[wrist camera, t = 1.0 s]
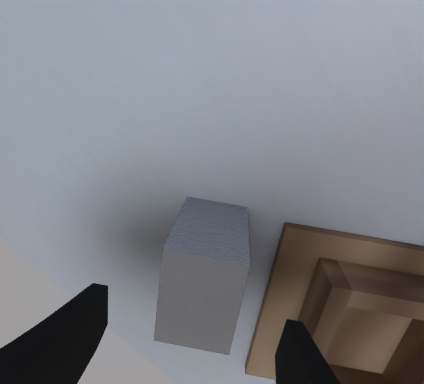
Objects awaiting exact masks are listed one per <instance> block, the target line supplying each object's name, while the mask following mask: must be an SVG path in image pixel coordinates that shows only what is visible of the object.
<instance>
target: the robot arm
mask: <svg viewBox="0 0 424 384" xmlns="http://www.w3.org/2000/svg"><path fill="white" fill-rule="evenodd" d="M107 324H108V286H106V285H100V284H95V283H93V284H91V285H90V286H88V287H87V288H86V289H84V290H83V291H82V292H81V293H79V294H78V295H77V296H75V297H74V298H73V299H71V300H70V301H69V302H68V303H66V304H65V305H64V306H62V307H61V308H59V309H58V310H57V311H55V312H54V313H53V314H51V315H50V316H49V317H47V318H46V319H45V320H43V321H42V322H40V323H39V324H37V325H36V326H34V327H33V328H31V329H30V330H29V331H27V332H25V333H24V334H22V335H21V336H19V337H18V338H16V339H15V340H13V341H12V342H10V343H9V344H7V345H5V346H4V347H2V348H1V349H0V384H77V383H78V381H79V379H80V377H81V376H82V374H83V372H84V371H85V369H86V367H87V365H88V364H89V362H90V360H91V358H92V357H93V355H94V353H95V351H96V349H97V347H98V345H99V343H100V340H101V338H102V336H103V334H104V331H105V329H106V327H107ZM275 373H276V384H341V383H340V382H339V380H338V379H337V377H336V375H335V374H334V372H333V371H332V369H331V368H330V366H329V365H328V363H327V362H326V360H325V358H324V357H323V355H322V353H321V352H320V350H319V349H318V347H317V345H316V344H315V342H314V340H313V339H312V337H311V335H310V333H309V332H308V330H307V328H306V327H305V325H304V324H303V322H301V321H296V320H290V319H287V320H286V323H285V326H284V329H283V332H282V335H281V338H280V341H279V344H278V347H277V350H276V353H275Z"/></svg>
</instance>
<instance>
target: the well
mask: <svg viewBox="0 0 424 384" xmlns="http://www.w3.org/2000/svg"><path fill="white" fill-rule="evenodd" d="M287 319H290V320H296V321H301V322H303V324H304V325H305V327H306V328H307V330H308V332H309V333H310V335H311V337H312V339H313V340H314V342H315V344H316V345H317V347H318V349H319V350H320V352H321V353H322V355H323V357H324V358H325V360H326V362H327V363H328V365H329V366H330V368H331V369H332V371H333V372H334V374H335V375H336V377H337V379H338V380H339V382H340V383H341V384H424V247H423V246H418V245H412V244H406V243H400V242H395V241H389V240H383V239H378V238H372V237H366V236H361V235H355V234H349V233H343V232H338V231H332V230H326V229H321V228H315V227H309V226H304V225H298V224H292V223H286V222H285V223H284V227H283V231H282V234H281V238H280V241H279V245H278V249H277V252H276V256H275V260H274V263H273V267H272V270H271V274H270V278H269V281H268V285H267V289H266V292H265V296H264V299H263V303H262V307H261V310H260V314H259V318H258V321H257V325H256V328H255V332H254V336H253V339H252V343H251V347H250V350H249V354H248V357H247V361H246V365H245V374H248V375H254V376H259V377H264V378H269V379H274V380H276V373H275V353H276V350H277V347H278V344H279V341H280V338H281V335H282V332H283V329H284V326H285V323H286V320H287Z"/></svg>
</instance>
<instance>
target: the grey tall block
mask: <svg viewBox="0 0 424 384" xmlns="http://www.w3.org/2000/svg"><path fill="white" fill-rule="evenodd" d="M249 269H250V247H249V227H248V207H243V206H238V205H232V204H226V203H220V202H215V201H209V200H203V199H197V198H192V197H187V198H186V200H185V202H184V205H183V207H182V209H181V211H180V213H179V215H178V217H177V219H176V221H175V224H174V226H173V228H172V230H171V232H170V234H169V236H168V238H167V241H166V243H165V245H164V247H163V249H162V259H161V270H160V281H159V291H158V302H157V313H156V323H155V334H154V341H159V342H165V343H170V344H175V345H180V346H185V347H190V348H196V349H201V350H206V351H211V352H216V353H221V354H227V355H229V353H230V348H231V344H232V340H233V336H234V332H235V327H236V323H237V319H238V315H239V311H240V307H241V302H242V298H243V294H244V290H245V286H246V281H247V277H248V273H249Z"/></svg>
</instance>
